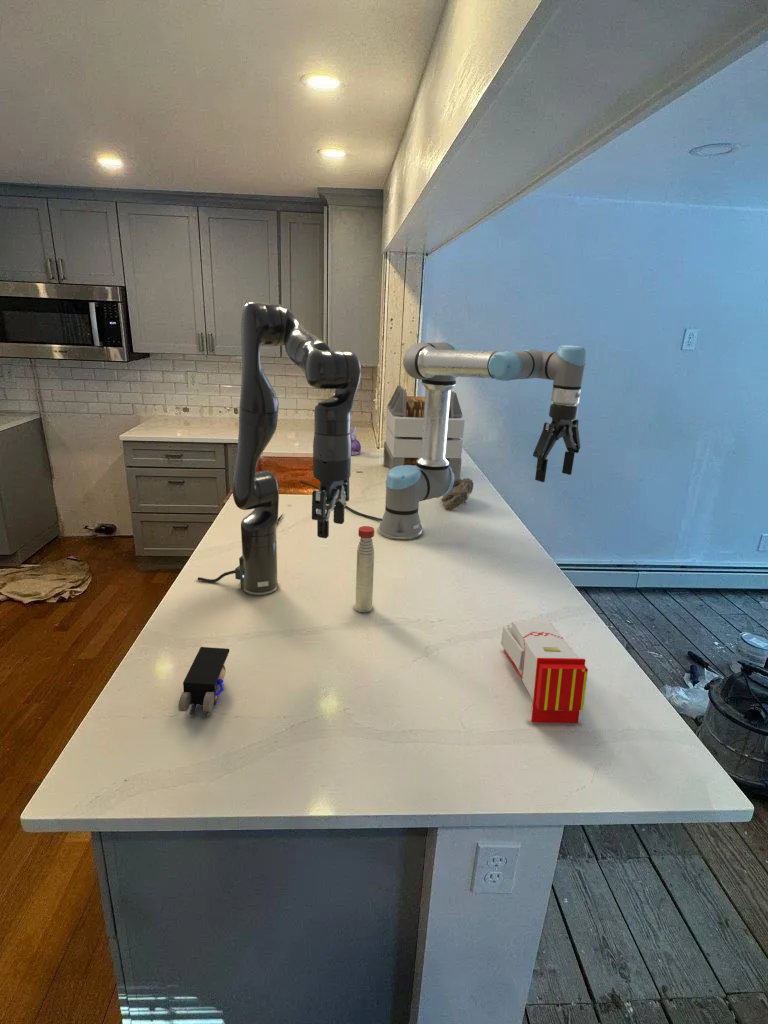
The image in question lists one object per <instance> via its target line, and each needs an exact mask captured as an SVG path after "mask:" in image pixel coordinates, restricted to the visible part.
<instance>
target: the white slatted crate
mask: <svg viewBox="0 0 768 1024" xmlns="http://www.w3.org/2000/svg"><path fill="white" fill-rule="evenodd" d="M407 394H408V393H407V390H406V389H404V388H403V387H402V385H399V384H398V385H397V386H396V388H395V390H394V392H393V394H392V395H391V398H390V400H389V402H388V404H387V405H386V413H385V414H386V415H385V423H386V428H385V438H384V442H383V466H384V467H388V468H389V470H390V469H392V468H394V467H396V466H401V465H404V466H405V465H413V466H416V461H417V459H418V458H420V457H421V450H422V435H423V421H424V406H425V396H415V395H414V396H413V395H412V396H411V395H407ZM464 429H465V419H464V418H463V411H462V408H461V405H460V402H459V398H458V395H457V392H455V391H453V390H451V394H450V406H449V418H448V430H447V442H446V454H445V458H446V459H447V461H448V462H449V466H450V467H451V469H452V473H454V479H461V472H462V461H463V460H462V453H463V442H464V441H463V440H462V439H463V438H464V431H465V430H464Z"/></svg>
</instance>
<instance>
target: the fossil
mask: <svg viewBox="0 0 768 1024" xmlns="http://www.w3.org/2000/svg"><path fill="white" fill-rule="evenodd" d="M473 490H474V482H473V480H472V479H470V478H469V477H467V478H460V479H454V484H453V487H452V489H451V490H450V491H449V492H448V493H447V494H445V495H443V496H442V498H441V499H440V501H441V502H442V506H443V507H444V508H445V510H449V511H452V510H455V509H458V508H460V507H461V506H462V505H463V504H467V502H466V501H467V500H469V497H470V495H471V494H472V493H473Z"/></svg>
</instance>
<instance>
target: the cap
mask: <svg viewBox="0 0 768 1024" xmlns="http://www.w3.org/2000/svg"><path fill="white" fill-rule="evenodd" d="M358 537H359V538H360V539H361V538H374V537H375V528H374V527H373V526H371V525H370V526H369V525H362V526H360V527H358Z"/></svg>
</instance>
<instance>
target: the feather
mask: <svg viewBox="0 0 768 1024" xmlns="http://www.w3.org/2000/svg"><path fill="white" fill-rule="evenodd" d="M283 515H284V513H282V514H281V515H280V516H278V522H277V524H276V527H277V526H278V525H279V522H280V520H281V519H282V517H283Z"/></svg>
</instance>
